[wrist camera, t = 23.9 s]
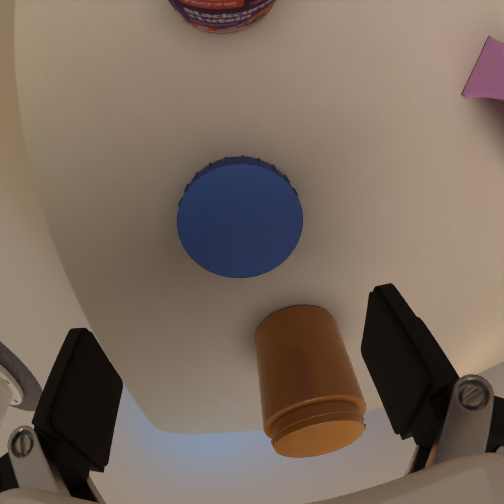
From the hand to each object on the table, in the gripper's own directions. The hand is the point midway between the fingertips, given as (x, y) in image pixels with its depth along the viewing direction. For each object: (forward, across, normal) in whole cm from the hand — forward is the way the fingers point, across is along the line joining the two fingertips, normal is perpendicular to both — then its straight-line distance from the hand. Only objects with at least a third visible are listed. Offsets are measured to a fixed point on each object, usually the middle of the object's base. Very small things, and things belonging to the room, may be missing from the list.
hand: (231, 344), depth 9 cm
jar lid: (+8, -1, 0) cm, 9 cm away
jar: (+10, -4, +11) cm, 15 cm away
